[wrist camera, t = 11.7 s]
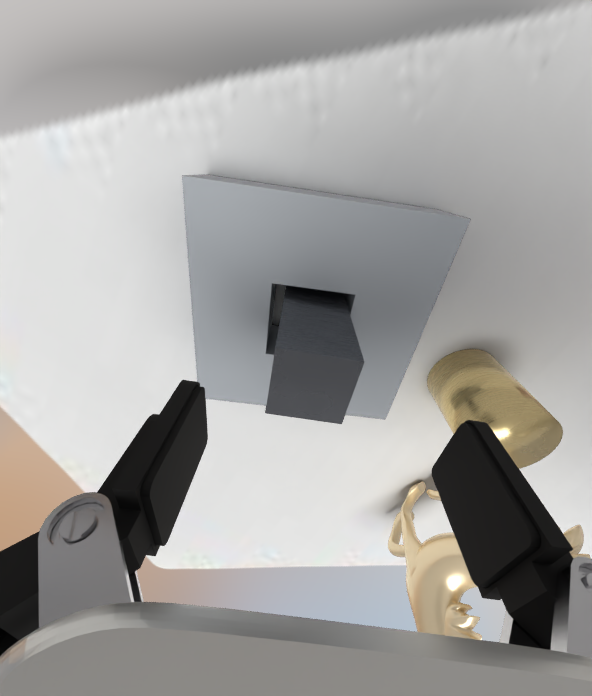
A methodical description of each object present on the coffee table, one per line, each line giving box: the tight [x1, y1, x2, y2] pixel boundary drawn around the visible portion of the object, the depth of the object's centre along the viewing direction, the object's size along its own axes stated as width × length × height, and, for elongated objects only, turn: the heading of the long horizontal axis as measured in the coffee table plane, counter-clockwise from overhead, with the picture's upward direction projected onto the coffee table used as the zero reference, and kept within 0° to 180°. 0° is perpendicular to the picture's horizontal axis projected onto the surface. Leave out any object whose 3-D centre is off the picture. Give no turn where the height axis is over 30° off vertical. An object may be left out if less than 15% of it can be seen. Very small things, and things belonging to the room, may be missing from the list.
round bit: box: [427, 349, 563, 469], centre depth 21 cm, size 6×6×7 cm
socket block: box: [182, 175, 471, 419], centre depth 19 cm, size 14×14×4 cm
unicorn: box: [388, 481, 590, 640], centre depth 25 cm, size 20×4×17 cm, turn 141°
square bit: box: [265, 285, 364, 424], centre depth 16 cm, size 4×4×10 cm
